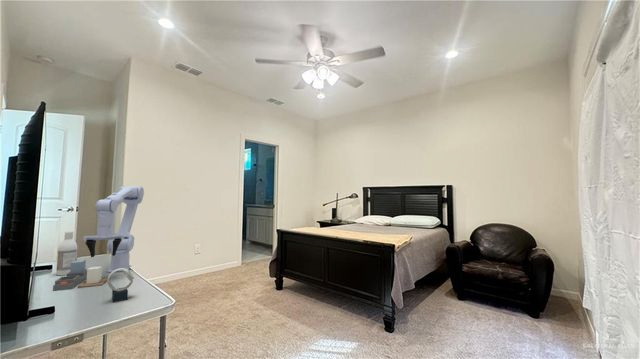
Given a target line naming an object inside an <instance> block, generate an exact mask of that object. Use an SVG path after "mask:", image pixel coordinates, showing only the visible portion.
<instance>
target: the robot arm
mask: <svg viewBox="0 0 640 359" xmlns="http://www.w3.org/2000/svg"><path fill="white" fill-rule="evenodd" d="M144 195H145V190H144V187H143V186H141V185H140V186H129V185H127V186H125V185H122V186H120V188H119V191H118V192H112V193H111V194H110V195H109V196H106V198H104V199H99V200H97V201H96V203H95V206H94V209H95V211H96V213H95V214H96V216H97V225H96V234H95V235H85V236H83V242H85V245H86V247H87V249H88V251H89V253H90V258H94V257H95V256H96V255H95V254H96V245H97V244H96V243H97V241H105V240H106V241H108V242H107V245H106V249H107V251H108V252H109V253H110V254H111V255H110V268H109V269H108V270H107V273H111V272H112V271H114V270H116V269H119V268H125V269H126V268H127V269H128V270H129V269H130V268H131V267H132V265H130V257H131V256H130V252H131V251H132V250H133V248H134V245H135V236H134V235H133V234H131V230H132V227H133V223H134V221H135V220H134V219H135V216H136V212H137V209H138V207H139V204H141V203H142V201H143V198H144ZM122 203H123V204H126V206H125V210H124V213H123V215H122V219H121V221H120V222H121V223H120V224H119V227H118V231H117V232H116V233H114V234H113V232H114V222H115V221H114V218H115V212H116V211H117V209H118V207H119V205H120V204H122ZM118 272H123V270H120V271H117V272H116V273H118Z"/></svg>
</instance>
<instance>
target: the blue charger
mask: <svg viewBox="0 0 640 359" xmlns="http://www.w3.org/2000/svg"><path fill="white" fill-rule="evenodd" d="M86 263H87V260H86V259H80V260H78V259H77V261H73V262H71V268H70V273H80V272H84V271H85V269H86Z"/></svg>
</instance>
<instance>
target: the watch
mask: <svg viewBox="0 0 640 359" xmlns="http://www.w3.org/2000/svg"><path fill="white" fill-rule="evenodd" d="M120 270H123V271H122V272H123V273H124V275H125V277H126V278H127V279H128V280H129V281H130V282H129V284H127V285H126V286H125V287H120V288H119V287H118V288H115V286H114V285H113V284H112V283H111V279H110V278H111V276H112V275H113V274H115V273H118V272H121V271H120ZM117 271H118V272H117ZM107 278H108V280H107V281H106V282H107V285H108V287H109V288H110V290H111V301H112V303H113V304H114V303H119V302H122V301H124V302H125V301H127V300H128V297H129V296H128V295H129V290H128V289H129V288H130V287H131V286H132V284H133V282H134V279H135V277H134V276H133V274H132V273H131V271H130V270H129V269H127V268H126V269H125V268H119V269H116V270H114V271H112V272H109V274H108V276H107Z"/></svg>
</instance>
